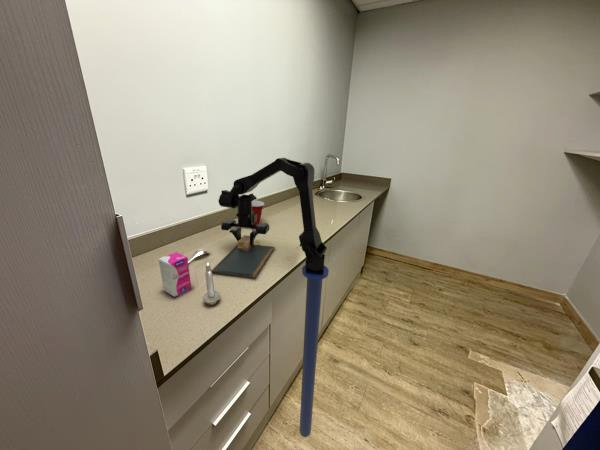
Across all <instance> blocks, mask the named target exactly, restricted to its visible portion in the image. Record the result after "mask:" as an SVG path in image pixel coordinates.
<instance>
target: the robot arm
mask: <svg viewBox="0 0 600 450" xmlns="http://www.w3.org/2000/svg"><path fill="white" fill-rule="evenodd" d="M314 167H315V166H314V165H313V164H311V163H309V162H303V163H302V162H300V161H295V160H291V159H289V158H287V157H278V158H276V159H275V160H274V161H272V162H270V163H268V164H267V165H266V166H264V167H262V168H261V169H259V170H257V171H256V172H253V173H251V174H249V175H247V176H243V177H240V178H237V179H235V180H234V181H233V184H232V185H233V186H232V188H231V189H230V190H228V189H223V190H221V193H220V195H219V197H218V204H219V206H220V207H222V208H227V209H237V210H236V212H237V213H236V214H235V216H236V217H237V221H236V219H229V218H227V219H226V220H224V221H223V222H222V223H221V224H220V228H221V230H222V231H229V233H231V234H232V235H233V237H234V239H236V241H237V242H238V241H239V240H240V239H241V238H242V230H243V229H244V230H251V232H250V233H249V236H250V245H251V247H252V246H253V243H254V244H255V240H256V237H257V236H258V235H267V233H268V232H269V231H270V224H269V223H268V222H260V223H259V224H258V225H253V223H255V222H257V214H254V213H253V211H252V201H253V200H257V198H258V197H257V196H256V195H255V194H254V193H250V192H252V191H253V190H255V189H256V188H258V186H259V184H261V183H263V182H264V181H265V180H267V179H269V178H270V177H272V176H275V175H276V174H278V173H280V172H282V173H284V174H285V175H287V176H290V177H292V180H293V182H294V185H295V187H296V188H297V190H298V194H299V202H300V211H301V217H302V218H301V219H302V228H303V231H302V232H301V233H300V234H299V235H298V240H299V247H300V248H301V250H302V252H304V255H305V265H304V266H305V269H306V273H310V274H318V275H323V272H324V266H325V258H326V254H325V253H326V251H327V249H328V247H327V246H326V245H325V243H323V241H322V238H321V237H322V236H321V233H320V231H319V230H318V228H317V224H316V214H315V205H314V196H313V194H314V193H313V187H314V182H315V168H314ZM247 193H249V194H247Z"/></svg>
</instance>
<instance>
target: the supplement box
mask: <svg viewBox="0 0 600 450" xmlns="http://www.w3.org/2000/svg"><path fill="white" fill-rule="evenodd" d="M188 260H189V257H188V256H186V255H185V254H184V255H183V254H182V253H180V252H177V251H175V252H173V253H169V254H167V255H165V256H162V257H160V258H158V266H159V271H160V277H161V283H162V288H163V292H164V293H166V294H167V295H169V296H171V297H172V298H174V299H175V298H177V297H179V296H180V295H182V294H184V293H186V292H187V291H190V290H191V289H192V283H191V274H190V266H189V263H188Z"/></svg>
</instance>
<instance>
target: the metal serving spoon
mask: <svg viewBox="0 0 600 450" xmlns="http://www.w3.org/2000/svg"><path fill="white" fill-rule="evenodd" d="M206 254H208V255H209V254H210V252H209V251H208V250H206V249H203V248H199V249H197V250H196V251H195V252H194V253H193V255H192V256H191V257H190V258H189V259H188V264H189V263H190V262H192V261H193V259H195V258H197V257H199V256H202V255H206Z"/></svg>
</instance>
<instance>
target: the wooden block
mask: <svg viewBox="0 0 600 450" xmlns="http://www.w3.org/2000/svg"><path fill="white" fill-rule="evenodd" d="M237 245H238V251H246V252H249V251H250V249H251V248H252V247H253V246H254V245H255V242H254V243H253V246H252V247H251V245H250V235H246V234H244V235H243V236H241V239H240V240H239V241H237Z"/></svg>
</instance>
